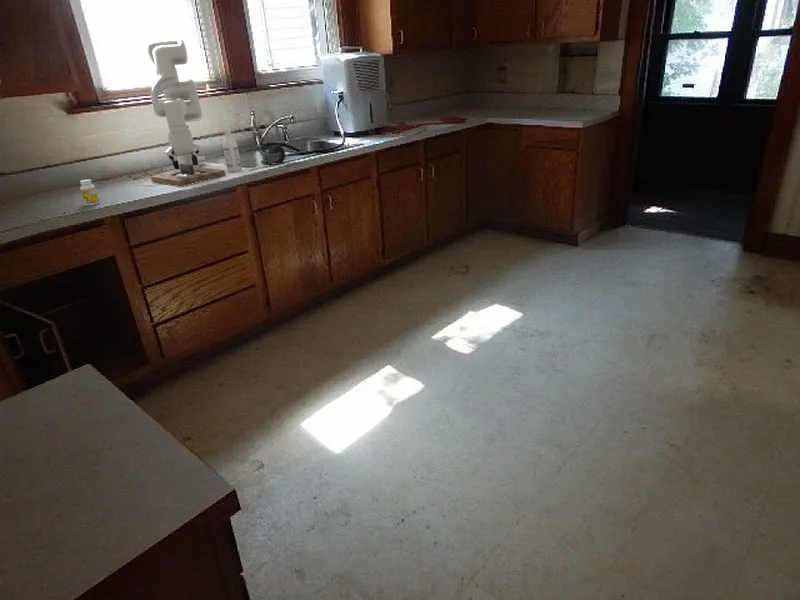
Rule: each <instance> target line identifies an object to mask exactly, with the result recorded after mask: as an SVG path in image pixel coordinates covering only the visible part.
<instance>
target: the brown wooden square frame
mask: <svg viewBox="0 0 800 600" xmlns="http://www.w3.org/2000/svg"><path fill="white" fill-rule="evenodd" d="M193 168H194V171H197V172H200V174H196V175H192V176H187V177H178V176H176V175H177V174H180V173H181V170H180V169H179V170H177V169H176V170H173V171H169V172H164V173H160V174H156V175H151V176H150V179H151V182H152V181H153V182H152V183H156V182H158V183H157V184H162V183H164V185H168V184H170V186H174V185H177V186H176V187H180V186H182V187H185V186H184V185H186V186H189V185H188V184H190V185H193V184H192V183H194V184H197V183H196V182H198V183H201V182H200V181H202V182H204V180H206V181H209V180H208V179H210V180H213V178H214V179H218V178H221V176H222V177H225V175H226V170H225V169H218V168H210V167H203V166H198V167H196V166H195V167H193ZM226 176H227V175H226ZM217 177H218V178H217Z"/></svg>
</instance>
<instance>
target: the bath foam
mask: <svg viewBox="0 0 800 600" xmlns="http://www.w3.org/2000/svg"><path fill="white" fill-rule="evenodd" d="M223 133H224V139H223V141H222V150H223V154H224V160H225V161H224V162H225V165H226V166H225V167H226V170H227V172H228V173H237V171H238V172H241V171H242V170H243V168H242V164H241V163H242V162H241V156H240V152H239V147H238V146H239V145H238V143H237V141H236V140H235V139H234V137H233V136H232V131H231V128H224V129H223Z"/></svg>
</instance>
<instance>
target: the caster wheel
mask: <svg viewBox="0 0 800 600" xmlns="http://www.w3.org/2000/svg"><path fill="white" fill-rule="evenodd" d="M285 159H286V151H285V149H284V148H283V147H282V146H281V145H279V144H275V145H274V144H273V145H272V146H271V147H270V148H269V150H268V152H267V153H264V160H261V161H260V163H261V164H265V166H267V165H273V166H274V164H275V163H276V165H277V163H280V164H282V163H284V161H285ZM281 162H282V163H281Z"/></svg>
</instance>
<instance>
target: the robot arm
mask: <svg viewBox="0 0 800 600" xmlns="http://www.w3.org/2000/svg"><path fill="white" fill-rule="evenodd" d="M145 47H146V51H147V53H148V57H149V58H150V59H151V61H152V63H153V65H154V66H155V70H156V76H157V79H156V80H155V82H154V83H153V85H152V87H151V91H150V97H151V98H150V99H151V102H152V108H153V111H154V114H155V115H156V117H158V118H165V119H166V122H167V127H168V130H169V133H167V136H168V138H167V139H168V147H169V148H167V149H166V150H165V151H164V155H165V156H167V158H168V160H171V161H172V165H173V168H174V170H176V171H177V170H180V165H179V164H182V163H185V164H193V167H195V166H196V167H197V166H198V167H201V166H200V165H202V163H201V161H205V160H206V157H205V156H204V155H203V156H198V154H199V152H200V145H198V144H195V143H194V140H193V137H192V131H191V129H190V128H189V127H190V126H189V125H188V124H187V123H192V122H199V121H201V120H202V118H203V113H202V112H203V111H202V107H201V103H200V98H199V93H198V90H197V89H198V88H197V85H196V83H195V82H194V80H192V79H191V78H179V75H178V71H177V68H176V66H179V65H186V64H187V63H188V52H187V47H186V44H185V42H184V41H183V40H182V39H180V38H173V39H172V38H171V39H170V38H168V39H154V40H150V41H147V42H146V46H145ZM161 92H162V93H163V96H164V98H163V99H159V95H160V94H161ZM185 100H189V101H185Z"/></svg>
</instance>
